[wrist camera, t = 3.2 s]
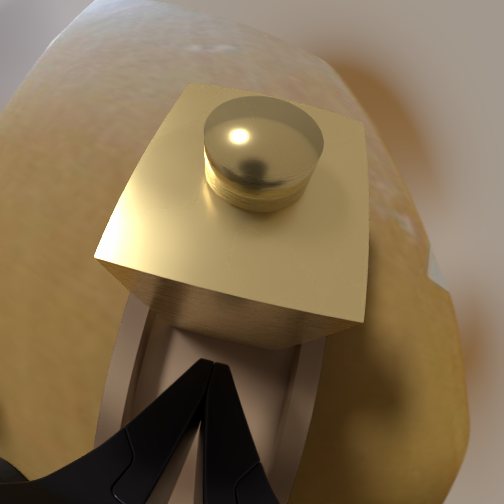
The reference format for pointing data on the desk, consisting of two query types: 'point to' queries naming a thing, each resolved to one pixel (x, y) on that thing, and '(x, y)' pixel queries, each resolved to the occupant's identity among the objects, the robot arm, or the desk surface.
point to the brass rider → (247, 220)
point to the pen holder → (9, 473)
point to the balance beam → (245, 378)
